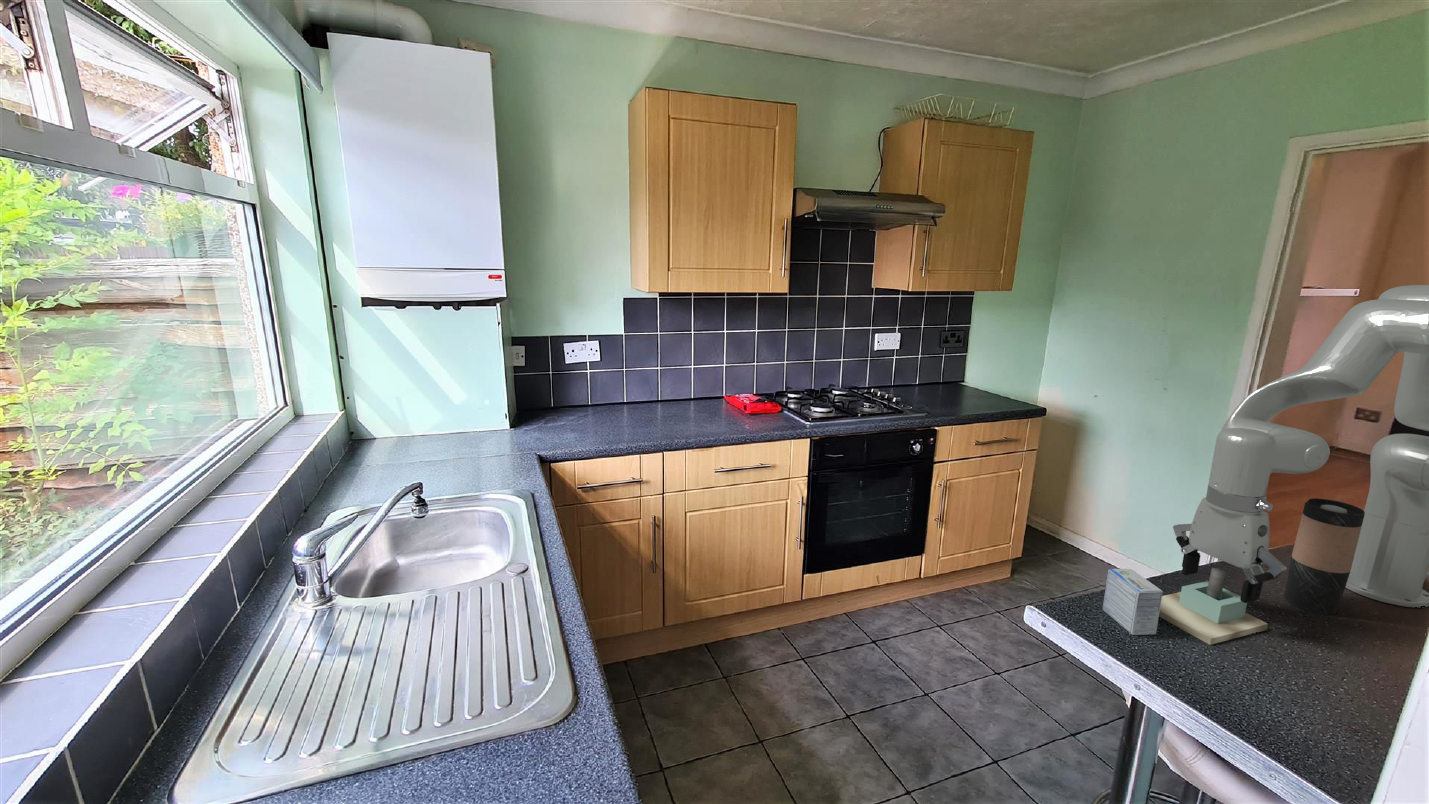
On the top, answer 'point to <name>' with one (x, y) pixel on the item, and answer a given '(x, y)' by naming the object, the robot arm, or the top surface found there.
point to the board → (1203, 625)
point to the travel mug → (1323, 555)
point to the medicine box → (1132, 601)
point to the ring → (1212, 603)
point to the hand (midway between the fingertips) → (1217, 586)
